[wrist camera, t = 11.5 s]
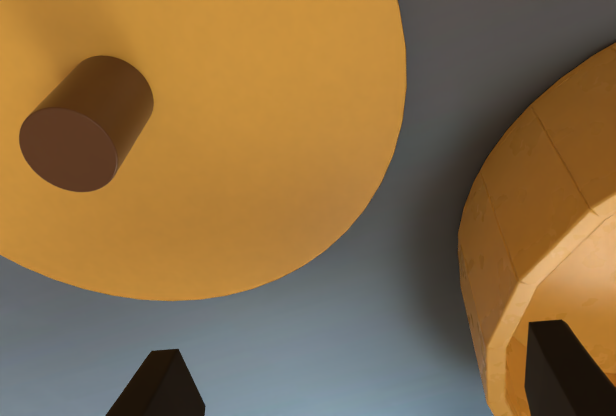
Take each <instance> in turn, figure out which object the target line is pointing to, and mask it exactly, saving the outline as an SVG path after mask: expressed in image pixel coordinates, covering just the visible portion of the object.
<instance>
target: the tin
mask: <svg viewBox="0 0 616 416" xmlns="http://www.w3.org/2000/svg"><path fill="white" fill-rule="evenodd" d="M458 260H459V270H460V286H461V290H462V295H463V299H464V304H465V308H466V313H467V317H468V322H469V326H470V331H471V335H472V340H473V344H474V349H475V353H476V358H477V362H478V366H479V371H480V375H481V380H482V384H483V389H484V393H485V398H486V402H487V404H488V406H489V408H490V410H491V411H492V413H493V415H494V416H531V414H530V410H529V405H528V401H527V396H526V392H525V388H524V384H525V369H526V355H527V340H528V325H529V322H535V321H548V320H561V319H562V320H563V321H564V322H566V323H567V324H568V325H569V327H570V328H571V330H572V331H573V333H574V334H575V335H576V337H577V338H578V340H579V341H580V342H581V344H582V345H583V346H584V348H585V349H586V350H587V352H588V353H589V354H590V356H591V357H592V358H593V360H594V361H595V362H596V363H597V365H598V366H599V367H600V368H601V370H602V371H603V372H604V373H605V375H606V376H607V377H608V379H609V380H610V381H611V382H612V383H613V385H614V386H615V387H616V43H614V44H612V45H611V46H609V47H607V48H605V49H604V50H602V51H600V52H598V53H596V54H595V55H593V56H592V57H590V58H589V59H587V60H586V61H585V62H583V63H582V64H580V65H579V66H577V67H576V68H575V69H573V70H572V71H570V72H569V73H568V74H566V75H565V76H563V77H562V78H560V79H559V80H558V81H557V82H556V83H555V84H553V85H552V86H551V87H550V88H549V89H548V90H547V91H545V92H544V93H543V94H542V95H541V96H540V97H539V98H537V99H536V100H535V101H534V102H533V103H532V104H531V105H530V106H529V107H528V108H527V109H526V110H525V111H524V112H523V113H522V114H521V115H520V117H519V118H518V119H517V120H516V121H515V122H514V123H513V124H512V125H511V126H510V127H509V128H508V129H507V131H506V132H505V133H504V135H503V136H502V138H501V139H500V140H499V142H498V143H497V144H496V146H495V147H494V149H493V150H492V151H491V153H490V154H489V155H488V157H487V159H486V160H485V162H484V164H483V166H482V168H481V170H480V171H479V173H478V175H477V177H476V179H475V180H474V182H473V185H472V187H471V190H470V193H469V195H468V198H467V201H466V203H465V206H464V209H463V214H462V218H461V223H460V228H459V231H458Z"/></svg>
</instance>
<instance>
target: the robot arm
mask: <svg viewBox="0 0 616 416" xmlns="http://www.w3.org/2000/svg"><path fill="white" fill-rule="evenodd" d="M524 388H525V392H526V396H527V401H528V405H529V410H530V414H531V416H616V387H615V386H614V385H613V383H612V382H611V381H610V380H609V379H608V377H607V376H606V375H605V373H604V372H603V371H602V370H601V368H600V367H599V366H598V365H597V363H596V362H595V361H594V360H593V358H592V357H591V356H590V354H589V353H588V352H587V350H586V349H585V348H584V346H583V345H582V344H581V342H580V341H579V340H578V338H577V337H576V335H575V334H574V333H573V331H572V330H571V328H570V327H569V325H568V324H567V323H566V322H564V321H563V320H562V319H561V320H548V321H535V322H529V325H528V340H527V355H526V369H525V384H524ZM204 415H205V404H204V402H203V400H202V398H201V396H200V393H199V391H198V389H197V387H196V385H195V383H194V381H193V379H192V377H191V374H190V372H189V370H188V368H187V366H186V364H185V362H184V360H183V357H182V355H181V353H180V351H179V349H170V350H157V351H151V352H150V354H149V355H148V356H147V358H146V359H145V360H144V362H143V363H142V365H141V366H140V367H139V369H138V370H137V372H136V373H135V375H134V376H133V377H132V379H131V380H130V382H129V383H128V385H127V386H126V387H125V389H124V390H123V392H122V393H121V395H120V396H119V397H118V399H117V400H116V402H115V403H114V404H113V406H112V407H111V409H110V410H109V411H108V413H107V414H106V416H204Z"/></svg>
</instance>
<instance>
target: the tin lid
mask: <svg viewBox="0 0 616 416" xmlns="http://www.w3.org/2000/svg"><path fill="white" fill-rule="evenodd" d="M406 87H407V79H406V46H405V40H404V34H403V27H402V21H401V15H400V9H399V4H398V0H0V255H2V256H4V257H6V258H8V259H10V260H12V261H13V262H15V263H17V264H19V265H21V266H23V267H25V268H28V269H30V270H33V271H35V272H37V273H40V274H42V275H45V276H47V277H49V278H52V279H55V280H58V281H61V282H64V283H67V284H70V285H73V286H76V287H79V288H82V289H87V290H91V291H95V292H100V293H104V294H108V295H113V296H120V297H127V298H134V299H141V300H161V301H180V300H200V299H206V298H213V297H220V296H227V295H230V294H234V293H238V292H242V291H246V290H250V289H253V288H256V287H259V286H261V285H264V284H267V283H269V282H272V281H274V280H277V279H279V278H281V277H283V276H285V275H287V274H289V273H291V272H293V271H295V270H297V269H298V268H300V267H302V266H304V265H305V264H307V263H308V262H310V261H311V260H312V259H314V258H315V257H317V256H318V255H320V254H321V253H323V252H324V251H325V250H327V249H328V248H329V247H330V246H331V245H332V244H333V243H334V242H335V241H336V240H338V239H339V238H340V237H341V236H342V235H343V234H344V233H345V232H346V231H347V230H348V229H349V228H350V226H351V225H352V224H353V223H354V222H355V220H356V219H357V218H358V217H359V216H360V214H361V213H362V212H363V211H364V210H365V208H366V207H367V205H368V203H369V202H370V200H371V199H372V197H373V195H374V194H375V192H376V190H377V189H378V187H379V186H380V184H381V182H382V180H383V178H384V175H385V173H386V171H387V168H388V166H389V164H390V161H391V159H392V157H393V154H394V151H395V147H396V144H397V140H398V136H399V132H400V129H401V125H402V121H403V113H404V104H405V96H406Z"/></svg>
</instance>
